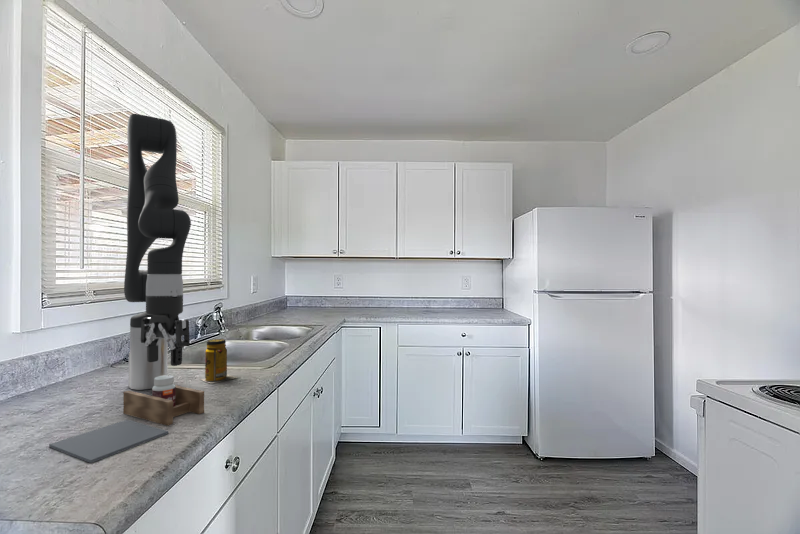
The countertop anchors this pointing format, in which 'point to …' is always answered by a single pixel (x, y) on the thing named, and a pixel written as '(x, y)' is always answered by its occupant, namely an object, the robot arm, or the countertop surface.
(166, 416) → the wooden rack
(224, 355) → the condiment
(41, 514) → the countertop surface
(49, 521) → the countertop surface
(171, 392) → the pill bottle
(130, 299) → the robot arm
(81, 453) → the mat
